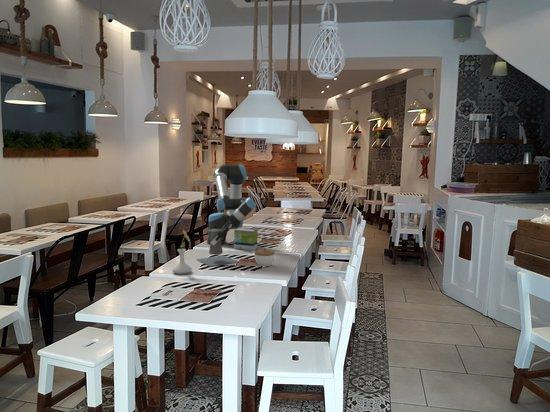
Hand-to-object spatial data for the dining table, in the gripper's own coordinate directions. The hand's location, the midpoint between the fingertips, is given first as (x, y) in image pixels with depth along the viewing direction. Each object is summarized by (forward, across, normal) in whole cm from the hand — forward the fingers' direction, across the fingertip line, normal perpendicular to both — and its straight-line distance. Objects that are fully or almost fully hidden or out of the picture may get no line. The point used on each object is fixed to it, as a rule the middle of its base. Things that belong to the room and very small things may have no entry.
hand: (211, 242), depth 280 cm
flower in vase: (+22, -23, +4) cm, 32 cm away
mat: (+7, 0, -11) cm, 13 cm away
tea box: (-9, +35, -27) cm, 45 cm away
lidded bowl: (-14, -15, -32) cm, 38 cm away
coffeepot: (+3, 0, -8) cm, 8 cm away
